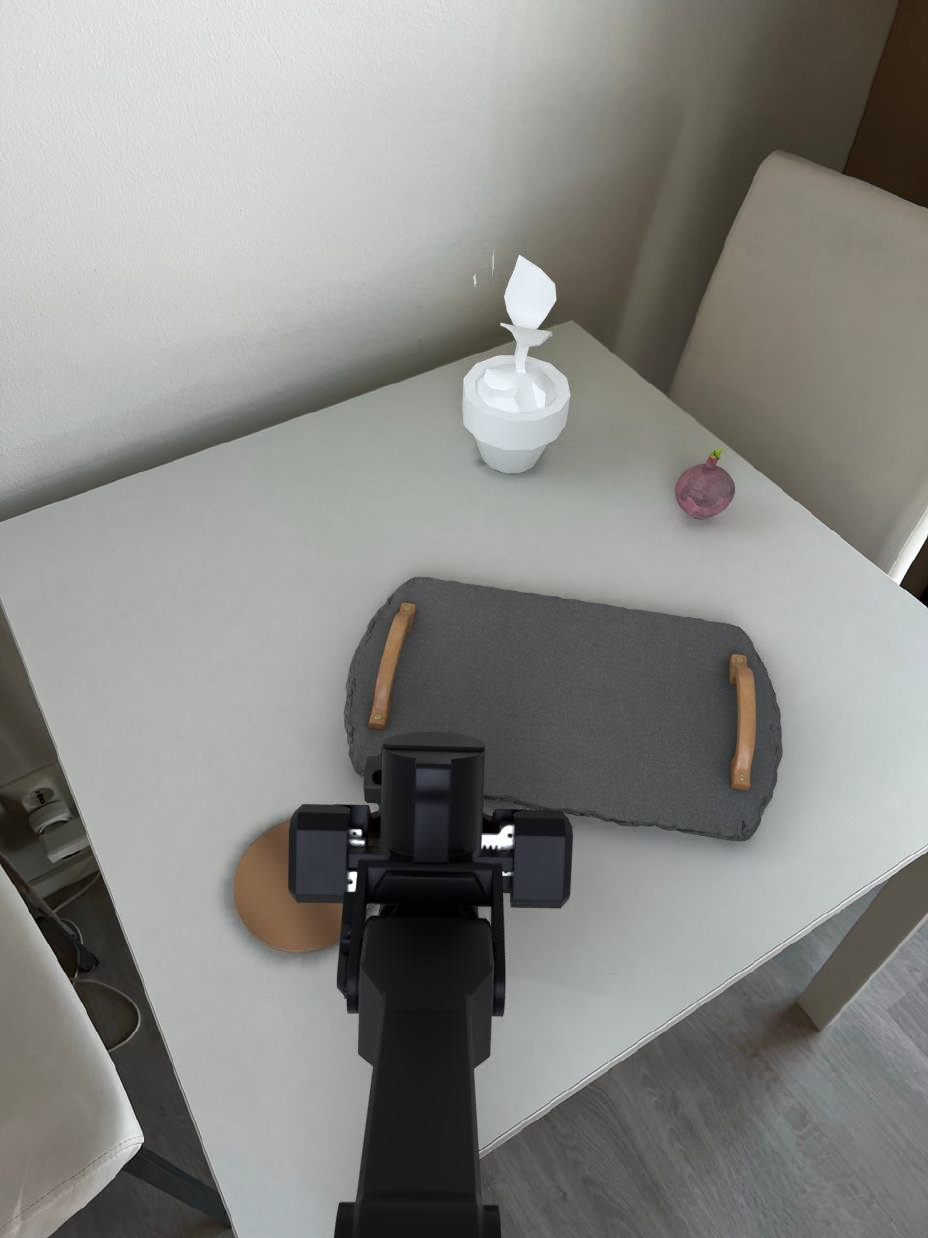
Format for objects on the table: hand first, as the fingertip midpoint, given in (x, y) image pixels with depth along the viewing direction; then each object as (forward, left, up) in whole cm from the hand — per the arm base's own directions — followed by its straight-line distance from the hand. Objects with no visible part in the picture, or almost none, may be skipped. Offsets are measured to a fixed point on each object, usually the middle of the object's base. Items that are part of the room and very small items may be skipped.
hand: (432, 817), depth 72 cm
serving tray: (+18, +2, -7) cm, 19 cm away
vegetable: (+48, +10, -7) cm, 50 cm away
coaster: (-9, +5, -7) cm, 12 cm away
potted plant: (+39, +30, -7) cm, 50 cm away
